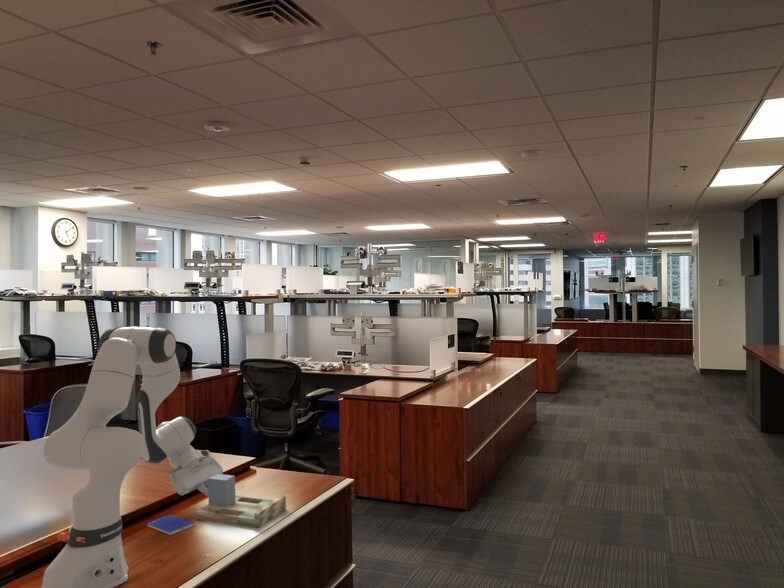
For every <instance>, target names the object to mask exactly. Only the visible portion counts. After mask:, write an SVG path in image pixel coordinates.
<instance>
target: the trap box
mask: <svg viewBox="0 0 784 588" xmlns="http://www.w3.org/2000/svg"><path fill="white" fill-rule="evenodd" d="M286 498H287V497H286V495H285V494H283V495H280V496H277V498H275V499H268V498H267V499H266V498H258V497H251V496H245V495H243V496H241V495H236V494H235V500H236V502H235V503H233V504H232V505H230V506H228V507H227V508H225V507H218V506H210V505H209V503H208V504H206V505H205V506H203V507H201V508H199V509H197V510H195V519H196V520H200V521H201V520H203V521H209V522H214V523H215V522H217V523H223V524H229V525H230V524H231V525H237V526H243V527H251V528H256V529H257V528H258V529H259V528H261V527H262V526H264V525H266V524H267V523H268V522H269V521H271V520H272V519H274V518H275V517H277V516H279V514H282V511H283V512H284V511H285V510H286V509H287V499H286Z"/></svg>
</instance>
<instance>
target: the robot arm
mask: <svg viewBox="0 0 784 588" xmlns="http://www.w3.org/2000/svg"><path fill="white" fill-rule="evenodd" d="M97 347H98V348H97V349H98V352H97V354H96V356H95V359H94V362H93V365H92V368H91V371H90V374H89V379H88V381H87V385H86V388H85V391H84V394H83V397H82V400H81V402H80V404H79V406H78V407H77V409H76V410H75V411H74V413H73V414H72V415H71V416H70V418H69V419H68V420H67V421H66V422H65V423H63V425H62V426H60V427H59V428H58V429H55V430H54V431H52V433H50V434H49V436H48V437H47V438H46V440H45V443H44V445H43V455H44V456H43V457H44V459H45V461H46V463H47V465H50V466H52V467H54V468H58V469H59V468H60V469H63V470H69V471H75V470H76V471H89V473H90V474H89V481H88V483H87V482H86V484H84V485H82V486H81V487H80V488H78V489H77V490H76V492H75V493H74V494H73V496H72V499H71V508H72V509H71V514H72V515H71V516H72V525H71V527H70V529H69V532H63V531H62V532H60V533H58V535H57V541H59V542H66V544H65V546H64V547H63V548H62V549H61V550H60V552H59V553H58V554H57V556H56V557H55V558H54V559H53V560H52V561H51V563H49V565H48V566H47V568H46V569H45V571H44V573H43V577H42V586H41V587H40V588H115V587H117V586H119V585H121V584H123V583H125V582H127V581H128V580H129V576H128V572H129V566H128V564H127V560H126V556H125V553H124V552H125V551H124V547H123V546H124V545H123V540H122V533H123V519H122V516H121V507H120V506H121V491H122V490H121V489H122V485H123V482H124V480H125V477H126V475H127V474H128V473H129V472H130V470H131V469H133V468H134V467H135V466H137V464H138V463H139V462H140V461H141V459H143V461H145V463H149V464H156V465H157V464H160V463H162V462H163V461H164V460H165V459H167V460H168V461H169V463H170V465H171V466H172V468H173V469H170V470H169V471H168V474H167V475H168V478H169V479H170V482H171V485H172V486H173V488H174V489H175V491H176V493H177V494H178V495H180V496H184V495H187V494H188V493H191V492H192V491H195V490H196V489H197V490H198V491H199V492H201V493H203V494H204V495H205V496H206V497H207V498H209V492H208V478H210V477H212V476H214V475H216V474H223V473H224V469H223V467H222V465H221V464H220V463H219V462H218V460H217V459H216V458H215V457H214V456H211V455H212V454H211V452H210V450H208V449H206V450H205V449H204V450H202V449H200V450H199V449H195V448H194V447H193V446H192V445H191V442H192V441H194V439H195V437H196V433H197V428H196V425H195V424H194V423H193V421H192V420H191V419H190V418H188V417H186V416H178V417H175V418H173V419H172V420H168V421H163V422H161V423H160V424H158V426H157V425H156V411H157V410H158V407H160V405H161V403H163V401H164V400H166V398H167V397H168V396H170V394H172V393H173V392H174V391H175V389H176V388H177V387H178V385H179V383H180V381H181V369H180V365H179V361H178V358H177V355H176V348H177V341H176V338H175V335H174V334H173V332H171V330H169V329H168V328H164V327H147V326H145V327H144V326H126V327H112V328H109V329H107V330H105V331H104V332H103V333H102V335H101V336H100V337H99V340H98V345H97ZM137 365H139V366H140V370H141V373H142V374H141V375H142V383H141V387H140V390H139V391H138V392H137V394H136V412H137V413H136V414H137V425H138V430H135V429H132V428H127V427H123V426H107V424H108V423H109V422H110V421H111V420H112V418H114V417H115V416H117V415H118V414H121V413H122V412H124V411H125V410H126V409H127V407H128V405H129V402H130V398H131V395H132V390H133V385H134V382H135V381H134V380H135V376H136V372H137Z"/></svg>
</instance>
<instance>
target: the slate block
mask: <svg viewBox="0 0 784 588" xmlns="http://www.w3.org/2000/svg"><path fill="white" fill-rule="evenodd" d="M207 488H208V492H209V496H208V504H209V505H210V506H218V507H225V508H227V507H228V506H230V505H232V504H233V503H235V502H236V500H235V495H236V476H235V475H230V474H223V473H222V474H216V475H214V476H212V477H210V478H208V487H207Z"/></svg>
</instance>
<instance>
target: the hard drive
mask: <svg viewBox="0 0 784 588" xmlns="http://www.w3.org/2000/svg"><path fill="white" fill-rule="evenodd" d="M194 524H195V523H194V522H192V521H188V520H186V519H183V518H180V517H177V516H175V515H172V514H168V515H164V516H162V517H160V518H157V519H155V520H152V521H149V522H148V523H147V527H148V528H152V529H154V530H157V531H159V532H162V533H164V534H167V535H170V536H171V535H174V534H176V533H179V532H181V531H184V530H186V529H187V530H188V529H189V528H192V527H193V526H194Z"/></svg>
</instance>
